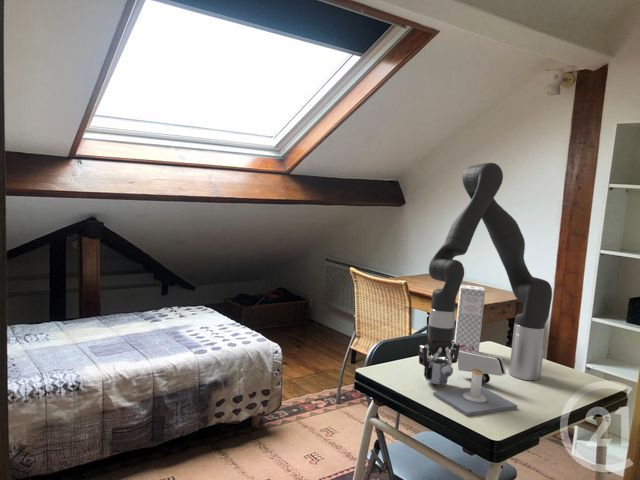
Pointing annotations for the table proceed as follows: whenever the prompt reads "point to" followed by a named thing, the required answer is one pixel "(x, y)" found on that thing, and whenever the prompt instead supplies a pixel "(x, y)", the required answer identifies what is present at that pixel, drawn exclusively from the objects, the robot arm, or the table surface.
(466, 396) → the panel
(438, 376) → the grey octagonal hollow block
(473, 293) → the box
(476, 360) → the bracket
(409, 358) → the table surface
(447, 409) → the table surface
